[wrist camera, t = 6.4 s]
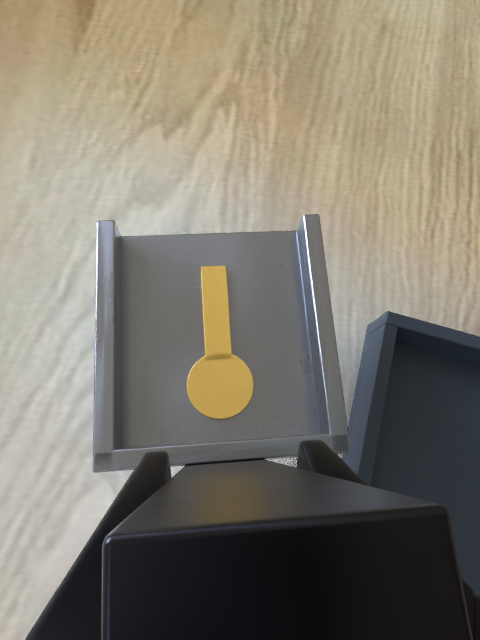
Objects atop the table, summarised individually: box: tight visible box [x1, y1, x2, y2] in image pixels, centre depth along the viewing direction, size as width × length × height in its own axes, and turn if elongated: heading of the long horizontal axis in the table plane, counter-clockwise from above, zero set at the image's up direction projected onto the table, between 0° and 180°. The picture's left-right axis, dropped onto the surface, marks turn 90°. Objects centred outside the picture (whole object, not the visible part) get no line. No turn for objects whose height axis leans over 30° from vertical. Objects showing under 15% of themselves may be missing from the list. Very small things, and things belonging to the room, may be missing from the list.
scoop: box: [93, 214, 473, 640], centre depth 9 cm, size 10×8×12 cm
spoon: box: [187, 266, 254, 419], centre depth 15 cm, size 5×2×1 cm, turn 4°
